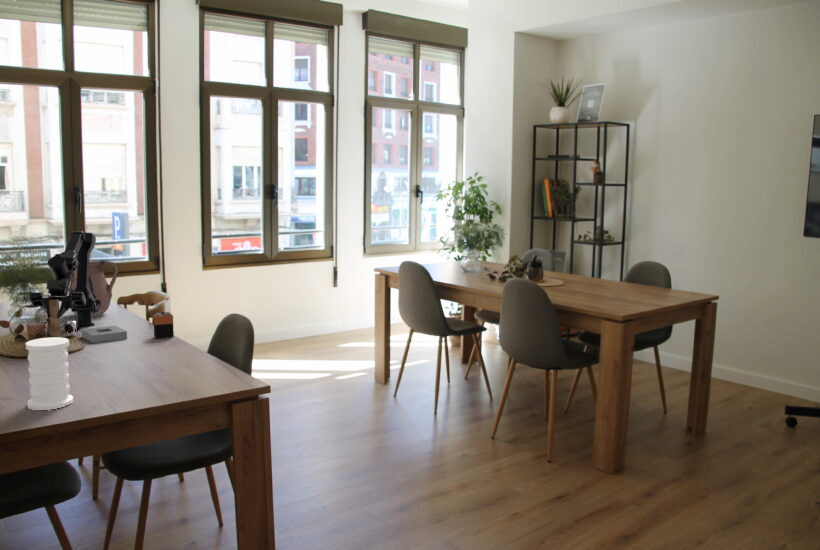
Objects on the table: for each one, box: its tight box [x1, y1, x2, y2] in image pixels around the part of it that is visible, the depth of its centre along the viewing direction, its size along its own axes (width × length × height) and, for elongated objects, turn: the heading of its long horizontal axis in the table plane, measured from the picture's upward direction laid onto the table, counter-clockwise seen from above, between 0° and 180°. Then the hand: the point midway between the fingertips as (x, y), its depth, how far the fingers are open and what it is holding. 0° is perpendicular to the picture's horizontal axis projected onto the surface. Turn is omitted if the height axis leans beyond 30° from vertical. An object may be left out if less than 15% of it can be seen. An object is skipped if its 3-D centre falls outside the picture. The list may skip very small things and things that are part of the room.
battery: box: [153, 311, 175, 340], centre depth 281 cm, size 4×7×10 cm, turn 121°
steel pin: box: [66, 320, 78, 337], centre depth 279 cm, size 3×3×6 cm
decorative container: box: [25, 336, 74, 411], centre depth 198 cm, size 12×12×18 cm
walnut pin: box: [49, 299, 62, 336], centre depth 263 cm, size 3×3×13 cm
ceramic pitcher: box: [67, 258, 119, 317], centre depth 318 cm, size 18×21×25 cm
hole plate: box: [81, 325, 128, 344], centre depth 278 cm, size 13×13×3 cm
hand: (53, 317), depth 262 cm, fingers closed on walnut pin, 3 cm apart
